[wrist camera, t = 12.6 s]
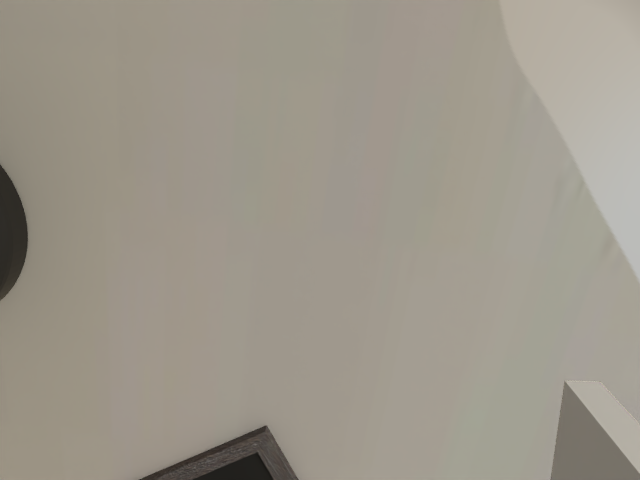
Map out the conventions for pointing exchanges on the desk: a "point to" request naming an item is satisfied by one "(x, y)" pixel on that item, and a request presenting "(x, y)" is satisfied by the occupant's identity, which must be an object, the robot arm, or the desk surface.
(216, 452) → the picture frame
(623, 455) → the robot arm
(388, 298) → the desk surface
